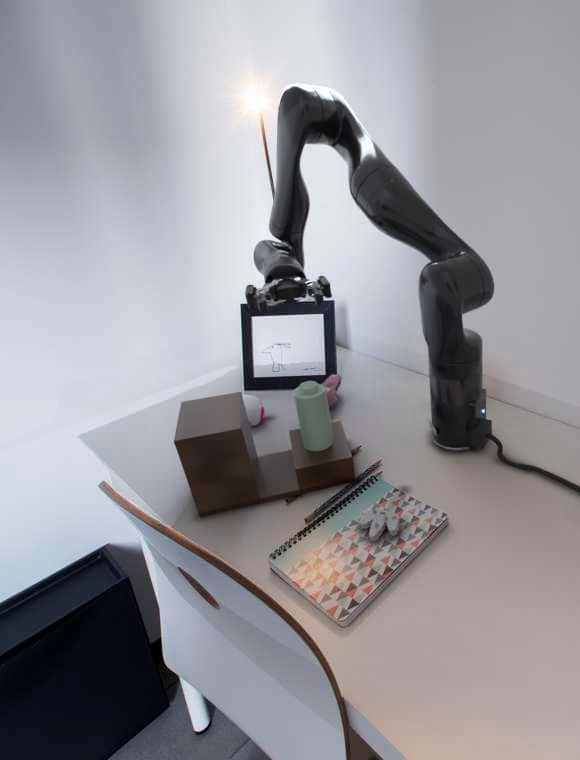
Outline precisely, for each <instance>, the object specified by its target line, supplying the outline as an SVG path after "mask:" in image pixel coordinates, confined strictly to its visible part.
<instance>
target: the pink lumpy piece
mask: <svg viewBox="0 0 580 760" xmlns="http://www.w3.org/2000/svg"><path fill="white" fill-rule="evenodd" d="M342 379H343V376H341V375H338V374H334V373H331V375H329V376H328V377H327V378H326V379H325V380H324V381H323V382H322V383H320V384H321V385H323V386H324V387H325V389H326V395H327V401H328V407H329V409H330V408H331V405H332V404H333V403H337V401H338V400H339V399H338V394H337V391H338V389H339V388H340V387H341V384H342Z"/></svg>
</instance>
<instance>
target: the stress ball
mask: <svg viewBox="0 0 580 760" xmlns="http://www.w3.org/2000/svg"><path fill="white" fill-rule="evenodd" d="M242 397H243V401H244V405H245V409H246V413H247V417H248V420H249V424H250V427H254V426H256V425H258V424H260V423H261V422H262V420H265V419H270V417H267V416H266V417H265V407H264V404H263V402H262V401H261V400H260V399H259V398H258V397H256V396H254V395H252V394H242Z"/></svg>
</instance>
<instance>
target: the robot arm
mask: <svg viewBox="0 0 580 760" xmlns="http://www.w3.org/2000/svg"><path fill="white" fill-rule="evenodd" d="M276 123H277V125H276V161H275V162H276V163H275V164H276V165H275V166H276V168H275V169H276V171H275V172H276V173H275V174H276V175H275V187H274V189H275V190H274V196H273V201H272V207H271V210H270V215H269V216H270V217H269V222H268V230H269V232H270V234H271V235H272V236H273V237H274V238H275V239H276V240H278V241H276V240H274V239H273V240H272V239H263V240H262V239H261V240H260V241H258V242H257V244H256V245H255V247H254V249H253V264H254V266H255V268H256V270H257V272H259V274H261V275H262V276H263V278H264V284H263V285H262V287H258V288H257V286H254V284H247V285H246V287H245V291H244V295H245V296H244V297H245V300H246V304H247V308H248V309H254V308H256V306H257V308H258V311H259V312H263V314H269V306H271V307H274V306H276V305H278V304H282V305H293V304H296V303H298V302H300V301H306V302H310V301H312V300H313V301H314V303H315V305H316V307H322V304H323V303H325V299H331V298H332V297H333V294H332V289H331V282H330V281H329V280H328V278H327V277H326V276H324V275H319V276H317V278H316V280H315V281H314V280H313V281H311V280H310V279H308V278H307V276H306V273H305V271H304V270H305V266H306V260H305V250H304V237H305V230H306V226H307V222H308V219H309V214H310V209H311V199H310V193H309V190H308V187H307V184H306V181H305V179H304V177H303V173H302V169H301V167H302V166H301V162H302V161H301V159H302V155H303V151H304V148H305V146H306V145H315V146H316V145H318V146H328V147H330V148H331V149H333V150H334V151H336V152H337V154H338V155H339V156H340V157H341V158H342V160H343V161H344V162H345V164H346V165H347V181H348V182H347V183H348V190H349V193H350V196H351V198H352V200H353V202H354V204H355V205H356V207H357V208H358V209H359V210H360V211H361V212H362V214H363V215H364V216H365V217H366V218H367V220H368V221H369V222H370V223H371V224H372V226H374V227H375V228H376V229H377V230H378V231H380V233H383V234H385V235H386V236H387V237H390V238H392V239H393V240H395V241H397V242H399V243H401V244H403V245H404V246H405V245H406V246H408V247H409V248H411V249H413V250H415V251H417V252H418V253H420V254H421V255H422V256H424V257H425V258H426V259H427V260H428V261H430V262H428V263H426V264H425V265H424V266H422V269H420V272H419V276H418V280H417V281H418V283H417V293H418V295H417V296H418V305H419V311H420V320H421V330H422V335H423V338H424V341H425V343H426V347H427V359H428V361H427V362H428V379H429V381H428V382H429V397H430V416H431V417H430V418H431V420H429V421H428V422H429V427H430V429H431V441H432V442H433V444H434V445H435V446H436V447H438V448H439V449H442V450H444V451H449V452H465V451H477V449H483V450H484V449H485V448H486V445H487V444H488V442H489V441H492V442H493V443H494V444H495V445H496V446H497V450H496V455H497V457H498V459H499V460H500V461H501V462H502V463H503V464H505V465H506V466H508V467H509V466H510V467H513V468H516V469H520V470H525V471H530V472H531V471H532V472H534V473H537V474H539V475H541V476H545V477H546V478H548V479H551V480H553V481H555V482H557V483H559V484H560V485H561V484H562V485H564V486H566V487H568V488H570V489H572V490H574V491H575V492H577V493H579V494H580V485H578V484H576V483H573V482H572V481H569V480H568V479H566V478H563V477H561V476H559V475H557V474H555V473H553V472H551V471H548V470H546V469H544V468H542V467H538V466H536V465H532V464H526V463H518V462H514V461H511V460H509V459H508V458H506V457H505V456H504V454H503V452H504V451H503V450H504V445H503V443H502V442H501V440H500V439H499V438H498V437H497V436H495V435H494V434H493V420H492V419H487V389H486V388H483V359H484V358H483V357H484V355H483V349H484V348H483V344H484V343H483V338H482V336H481V335H480V334H479V333H478V332H477V331H475V330H472V329H470V328H466V327H464V322H463V315H465V314H468V313H470V312H473V311H475V310H479V309H481V308H483V307H484V306H486V305H487V304H489V303H490V302H491V300H492V299H493V297H494V294H495V280H494V277H493V274H492V271H491V269H490V267H489V265H488V264H487V263H486V261H485V260H484V259H483V258H482V257H481V256H480V254H479V253H478V252H477V251H475V249H474V248H472V246H470V245H469V244H468V243H467V242H466V241H465V240H464V239H462V237H461V236H460V235H458V234H457V233H456V232H455V231H454V230H453V229H451V227H450V226H449V225H448V224H447V223H446V222H445V221H444V220H443V219H442V218H441V217H440V215H438V214H437V213H436V212H435V210H434V209H433V208H432V207H431V206H430V204H428V203H427V201H426V200H425V199H423V197H422V196H421V195H420V194H419V192H418V191H417V190H416V189H415V188H414V186H413V184H411V182H410V181H409V180H408V179H407V178H406V177H405V175H404V174H403V173H402V172H401V170H400V169H399V168H398V167H397V166H396V165H395V164H394V163H393V162H392V161H391V160H390V159H389V158H388V156H387V155H386V154H385V153H384V151H383V150H382V149H381V148H380V146H378V144H377V143H376V142H375V140H374V139H373V138H372V137H371V136H370V135H369V133H368V132H367V130H366V129H365V128H364V126H363V125H362V123H361V122H360V120H359V119H358V117H357V116H356V114H355V113H354V111H353V110H352V108H351V107H350V105H349V104H348V103H347V101H346V100H345V98H344V97H343V96H342V95H341V94H340V93H339V92H337V91H336V90H334V89H332V88H330V87H326V86H317V85H308V84H302V83H301V84H300V83H294V84H293V83H292V84H289V85H287V86H286V87H285V88H284V90H283V91H282V93H281V95H280V99H279V102H278V108H277V122H276Z"/></svg>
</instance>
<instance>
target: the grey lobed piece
mask: <svg viewBox="0 0 580 760" xmlns="http://www.w3.org/2000/svg"><path fill="white" fill-rule="evenodd" d="M404 490H405V488H404V487H402V488H401V489H400V490H399V492H398V494H397V497H396V498H395V500H392V501H391V502H390V503H389V504H388V507H387V509H386V510H385V509H380V508H379V509H378V508H373V509H368V510H366V511H365V512H364V513H363V515H362V516H361V518H359V525H360V527H361V529H362V530H367V529H368V528H369V532H368V535H369V538H370V539H369V540H370V541H371V542H372V543H373V542H376V541H378V540H379V538H380V537H381V535H382V534H383V532H384V531H385V530H386V527H387V530H388V533H389V535H390V536H397V534H398V532H399V528H400V518H399V516H398V515H397V514H396V513H394V512H392V511H390V510H389V508H390V506H391V505H392V504H393V503H395V502H396V501H397V500H398V498H399V496H400V494H401V491H404Z"/></svg>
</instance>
